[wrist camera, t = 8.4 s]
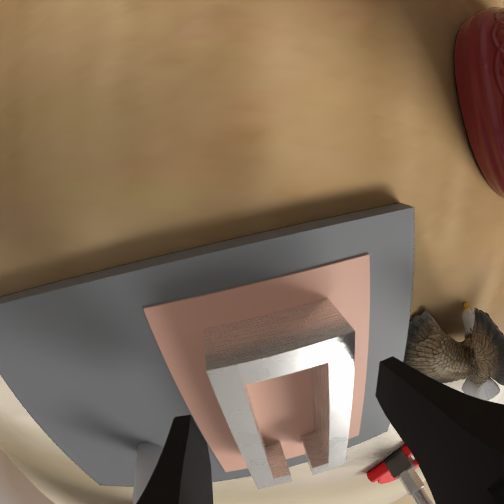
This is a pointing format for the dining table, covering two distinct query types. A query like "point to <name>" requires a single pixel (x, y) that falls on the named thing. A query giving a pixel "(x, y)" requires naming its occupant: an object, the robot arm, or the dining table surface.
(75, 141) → the dining table surface
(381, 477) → the tow hook
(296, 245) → the post board
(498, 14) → the canister
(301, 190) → the dining table surface
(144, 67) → the dining table surface
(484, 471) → the robot arm
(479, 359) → the eagle figurine
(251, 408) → the c link
